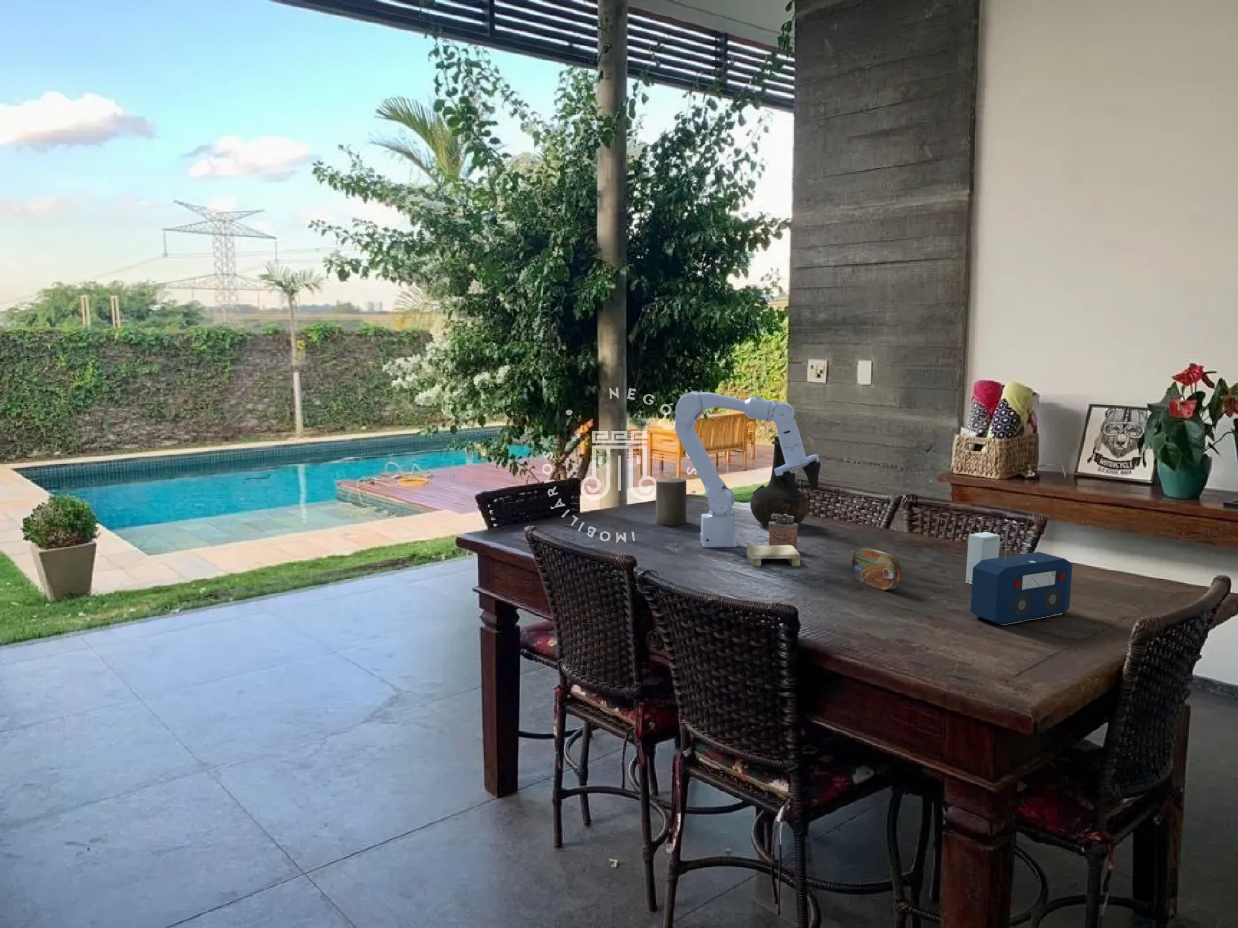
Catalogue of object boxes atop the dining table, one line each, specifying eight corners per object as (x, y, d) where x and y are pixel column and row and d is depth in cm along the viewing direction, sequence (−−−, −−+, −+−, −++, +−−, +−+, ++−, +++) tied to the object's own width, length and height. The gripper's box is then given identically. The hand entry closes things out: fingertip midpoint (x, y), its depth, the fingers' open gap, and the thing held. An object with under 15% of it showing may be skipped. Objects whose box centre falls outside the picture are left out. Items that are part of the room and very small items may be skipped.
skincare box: (980, 588, 204) (982, 537, 202) (965, 583, 207) (967, 534, 206) (998, 584, 206) (1000, 534, 205) (983, 580, 210) (985, 531, 208)
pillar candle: (687, 525, 272) (687, 478, 270) (655, 525, 272) (656, 478, 270) (685, 519, 282) (685, 473, 280) (655, 519, 282) (655, 473, 280)
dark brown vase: (765, 517, 284) (767, 431, 280) (817, 524, 274) (820, 435, 270) (739, 527, 270) (740, 436, 266) (793, 534, 259) (795, 440, 255)
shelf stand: (753, 566, 224) (753, 554, 223) (746, 556, 234) (747, 545, 233) (800, 565, 224) (800, 554, 224) (791, 556, 234) (792, 545, 234)
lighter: (798, 550, 241) (799, 514, 239) (795, 552, 238) (796, 516, 236) (770, 547, 244) (770, 511, 243) (766, 549, 241) (767, 514, 240)
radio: (1000, 629, 175) (1005, 531, 172) (966, 617, 183) (971, 523, 180) (1074, 616, 183) (1081, 522, 180) (1039, 604, 191) (1045, 514, 188)
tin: (850, 578, 213) (851, 544, 212) (860, 576, 214) (861, 543, 213) (892, 594, 199) (893, 558, 198) (903, 593, 200) (904, 557, 199)
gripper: (781, 451, 232) (795, 500, 233) (821, 437, 239) (834, 485, 240) (764, 454, 238) (778, 501, 239) (804, 440, 245) (816, 486, 246)
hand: (805, 493), depth 240 cm, fingers open, 7 cm apart
